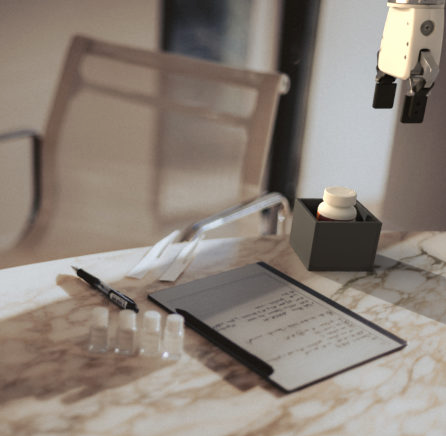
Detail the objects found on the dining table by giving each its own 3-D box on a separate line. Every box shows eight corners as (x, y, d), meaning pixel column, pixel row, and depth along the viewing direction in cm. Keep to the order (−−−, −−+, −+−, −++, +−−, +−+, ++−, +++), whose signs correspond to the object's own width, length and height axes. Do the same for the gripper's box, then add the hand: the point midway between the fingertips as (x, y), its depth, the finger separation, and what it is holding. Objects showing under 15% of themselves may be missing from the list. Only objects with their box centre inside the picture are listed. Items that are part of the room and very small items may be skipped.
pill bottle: (304, 247, 109) (313, 186, 104) (335, 244, 110) (346, 183, 106) (323, 262, 103) (334, 199, 99) (355, 259, 105) (368, 196, 100)
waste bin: (347, 243, 112) (356, 198, 109) (372, 271, 102) (382, 223, 99) (288, 242, 112) (295, 197, 108) (307, 270, 102) (315, 222, 98)
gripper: (477, -1, 80) (449, 129, 87) (413, -7, 96) (394, 103, 103) (420, -1, 80) (397, 129, 87) (366, -7, 96) (350, 103, 103)
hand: (395, 115), depth 95 cm, fingers open, 9 cm apart
